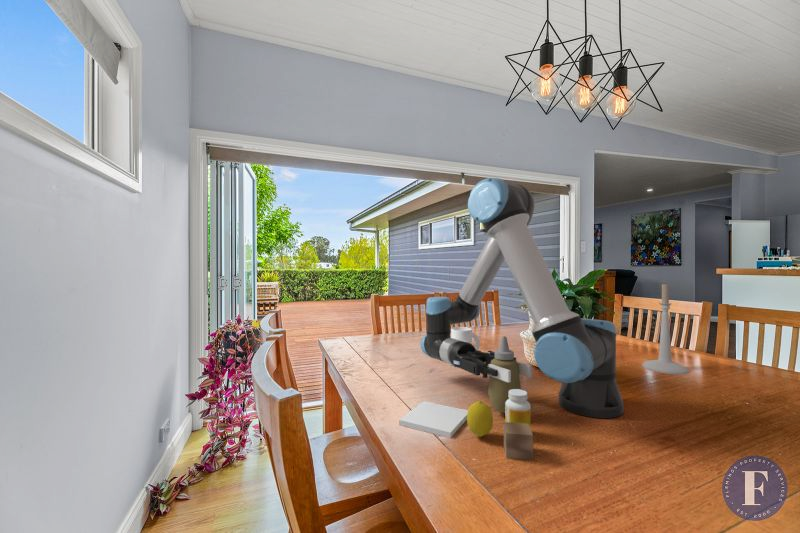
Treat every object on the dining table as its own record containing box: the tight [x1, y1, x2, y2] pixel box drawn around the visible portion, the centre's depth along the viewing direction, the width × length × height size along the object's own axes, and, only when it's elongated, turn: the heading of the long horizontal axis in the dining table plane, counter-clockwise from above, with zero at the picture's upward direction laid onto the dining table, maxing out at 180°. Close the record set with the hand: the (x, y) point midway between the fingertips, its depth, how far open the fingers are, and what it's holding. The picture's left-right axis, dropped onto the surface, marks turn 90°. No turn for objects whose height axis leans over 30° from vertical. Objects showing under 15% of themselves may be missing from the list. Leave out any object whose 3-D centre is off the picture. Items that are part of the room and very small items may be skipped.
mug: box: [451, 326, 481, 351], centre depth 142 cm, size 8×12×12 cm
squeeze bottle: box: [487, 335, 522, 413], centre depth 91 cm, size 8×8×18 cm
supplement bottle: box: [504, 389, 532, 430], centre depth 81 cm, size 5×5×10 cm
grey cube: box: [503, 421, 534, 461], centre depth 74 cm, size 5×5×5 cm
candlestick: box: [642, 283, 689, 375], centre depth 128 cm, size 13×13×30 cm
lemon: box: [466, 400, 494, 438], centre depth 80 cm, size 6×6×8 cm
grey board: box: [398, 400, 469, 439], centre depth 89 cm, size 13×13×1 cm
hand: (520, 373), depth 87 cm, fingers closed on squeeze bottle, 6 cm apart
